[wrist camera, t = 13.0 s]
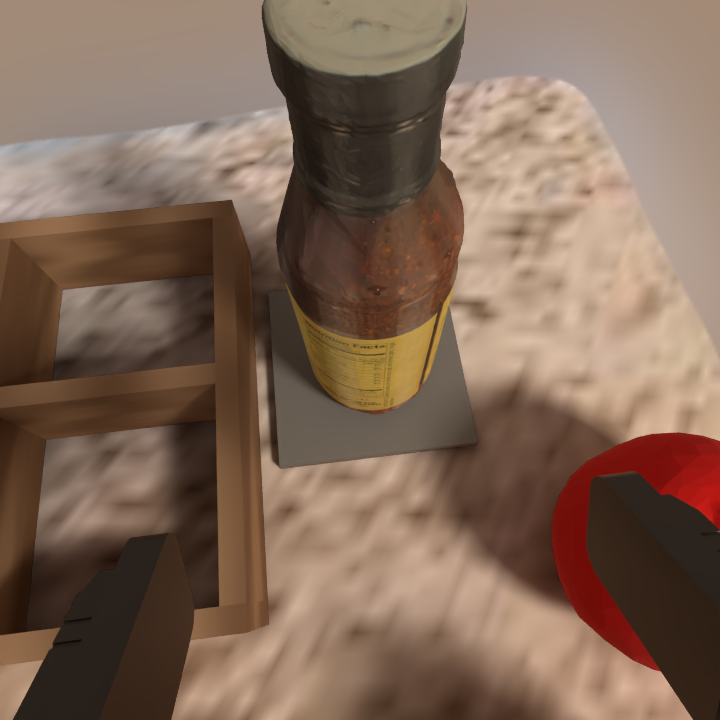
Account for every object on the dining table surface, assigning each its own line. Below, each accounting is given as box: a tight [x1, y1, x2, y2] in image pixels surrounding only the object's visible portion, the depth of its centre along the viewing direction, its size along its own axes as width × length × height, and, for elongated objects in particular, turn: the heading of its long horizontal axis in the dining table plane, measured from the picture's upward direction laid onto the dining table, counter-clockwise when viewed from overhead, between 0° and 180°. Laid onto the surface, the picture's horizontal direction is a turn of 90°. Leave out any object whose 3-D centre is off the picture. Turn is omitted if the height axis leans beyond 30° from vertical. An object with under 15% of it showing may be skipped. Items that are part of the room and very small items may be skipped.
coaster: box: [268, 290, 478, 469], centre depth 29 cm, size 10×10×1 cm
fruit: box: [552, 433, 720, 671], centre depth 21 cm, size 9×9×10 cm
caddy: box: [0, 200, 269, 666], centre depth 26 cm, size 12×20×5 cm, turn 7°
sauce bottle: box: [262, 0, 467, 415], centre depth 20 cm, size 7×6×20 cm
